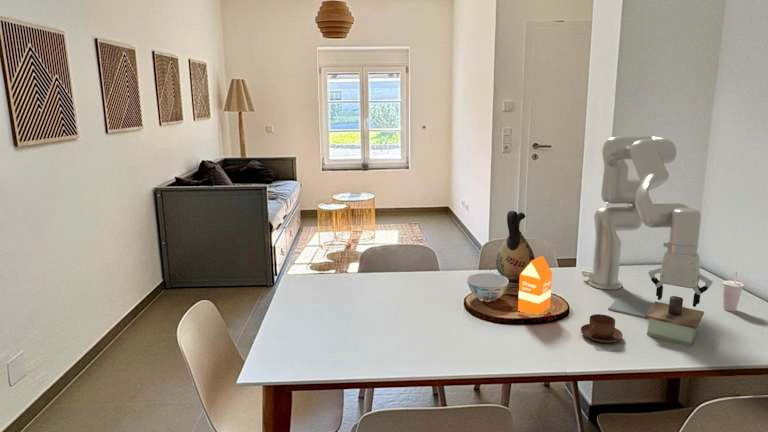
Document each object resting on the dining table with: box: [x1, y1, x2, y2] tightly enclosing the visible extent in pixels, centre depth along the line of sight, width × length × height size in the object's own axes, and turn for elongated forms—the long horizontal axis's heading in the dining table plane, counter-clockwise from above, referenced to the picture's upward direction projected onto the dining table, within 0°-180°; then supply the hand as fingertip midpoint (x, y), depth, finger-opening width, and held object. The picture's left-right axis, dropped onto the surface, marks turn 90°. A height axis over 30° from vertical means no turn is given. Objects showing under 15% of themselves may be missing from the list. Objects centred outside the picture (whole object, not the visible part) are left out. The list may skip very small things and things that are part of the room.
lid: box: [644, 295, 705, 329], centre depth 162 cm, size 14×14×6 cm
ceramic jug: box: [495, 210, 536, 286], centre depth 208 cm, size 17×15×30 cm
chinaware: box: [466, 272, 509, 300], centre depth 193 cm, size 15×15×8 cm
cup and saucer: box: [580, 313, 623, 344], centre depth 162 cm, size 12×12×6 cm
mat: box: [607, 295, 654, 320], centre depth 184 cm, size 15×15×1 cm
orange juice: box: [517, 255, 553, 315], centre depth 179 cm, size 8×9×20 cm
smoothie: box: [721, 270, 745, 313], centre depth 181 cm, size 6×6×14 cm
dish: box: [646, 319, 699, 347], centre depth 164 cm, size 12×12×6 cm
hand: (676, 302), depth 162 cm, fingers open, 9 cm apart
